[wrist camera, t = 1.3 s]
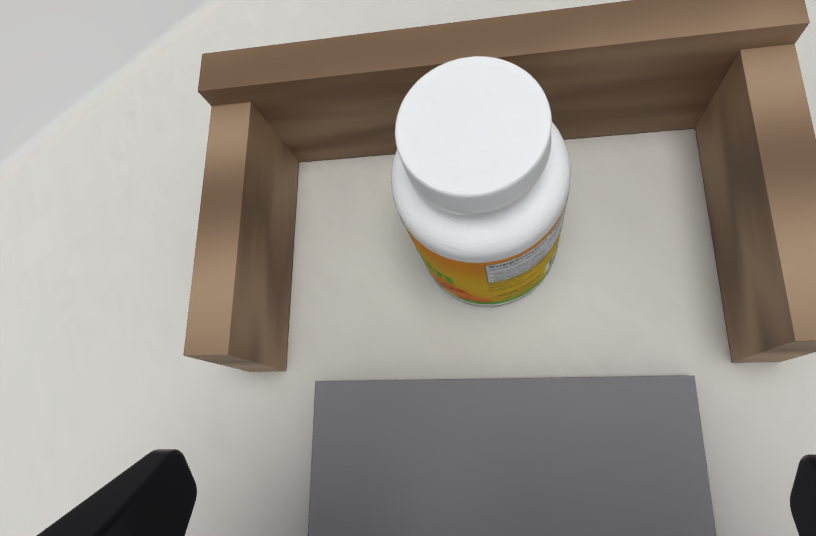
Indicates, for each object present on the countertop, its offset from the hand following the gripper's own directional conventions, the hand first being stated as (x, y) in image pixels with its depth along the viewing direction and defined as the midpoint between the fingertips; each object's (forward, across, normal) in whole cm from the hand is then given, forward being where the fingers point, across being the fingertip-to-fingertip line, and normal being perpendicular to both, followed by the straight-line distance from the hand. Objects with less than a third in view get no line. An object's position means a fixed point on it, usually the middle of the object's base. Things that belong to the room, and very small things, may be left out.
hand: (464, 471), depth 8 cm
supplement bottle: (+15, 0, +4) cm, 16 cm away
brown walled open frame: (+15, 0, +4) cm, 16 cm away
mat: (+7, 0, +12) cm, 14 cm away
